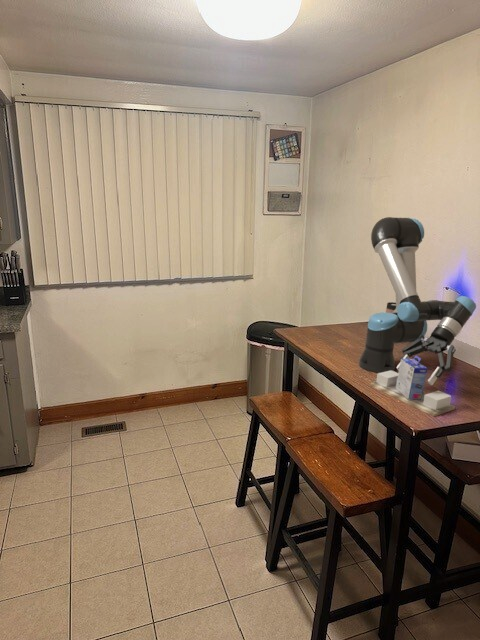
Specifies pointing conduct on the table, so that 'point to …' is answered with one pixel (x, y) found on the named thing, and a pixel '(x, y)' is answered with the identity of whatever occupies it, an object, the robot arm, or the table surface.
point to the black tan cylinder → (390, 307)
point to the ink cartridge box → (411, 378)
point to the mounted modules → (431, 399)
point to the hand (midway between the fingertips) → (413, 376)
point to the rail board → (413, 402)
